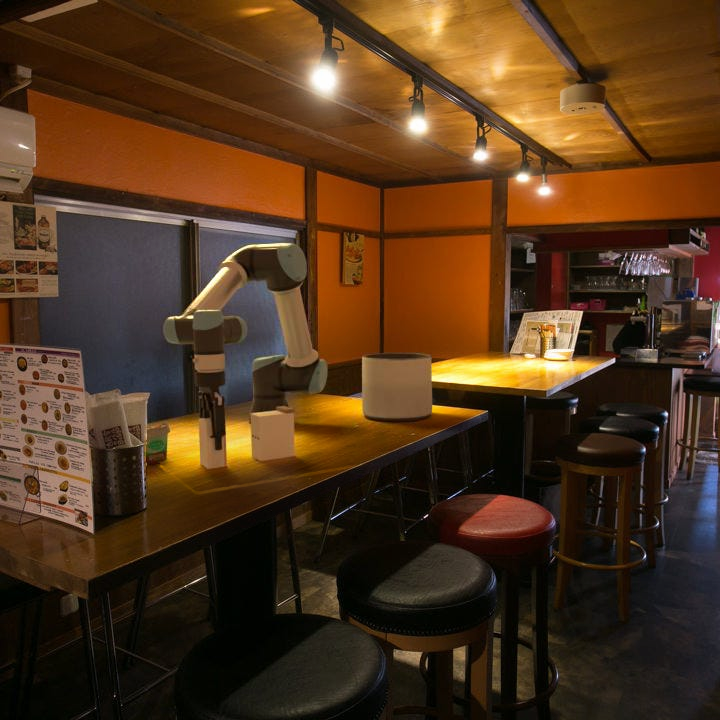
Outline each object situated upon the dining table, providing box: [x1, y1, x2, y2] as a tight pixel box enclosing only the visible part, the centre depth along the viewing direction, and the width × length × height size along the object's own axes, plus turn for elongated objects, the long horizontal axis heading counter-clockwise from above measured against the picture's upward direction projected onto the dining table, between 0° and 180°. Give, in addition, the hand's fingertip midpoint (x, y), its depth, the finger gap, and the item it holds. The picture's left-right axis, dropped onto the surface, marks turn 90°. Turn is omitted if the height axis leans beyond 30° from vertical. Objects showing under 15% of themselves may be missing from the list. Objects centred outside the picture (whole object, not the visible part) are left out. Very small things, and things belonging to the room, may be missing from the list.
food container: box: [146, 421, 171, 467], centre depth 178 cm, size 12×6×10 cm, turn 148°
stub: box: [198, 418, 228, 470], centre depth 172 cm, size 6×5×12 cm
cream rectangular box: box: [250, 406, 296, 462], centre depth 181 cm, size 6×10×13 cm, turn 122°
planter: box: [361, 352, 433, 422], centre depth 242 cm, size 25×25×22 cm
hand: (213, 459), depth 173 cm, fingers closed on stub, 6 cm apart
